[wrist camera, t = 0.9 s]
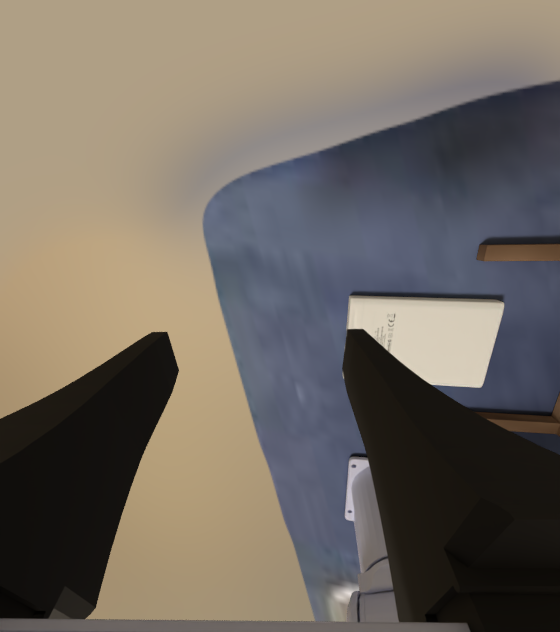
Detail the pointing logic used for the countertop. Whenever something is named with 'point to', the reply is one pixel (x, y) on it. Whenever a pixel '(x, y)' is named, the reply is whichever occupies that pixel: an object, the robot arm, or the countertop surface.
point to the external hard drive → (432, 334)
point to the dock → (556, 422)
